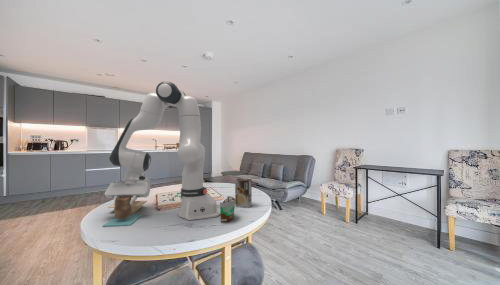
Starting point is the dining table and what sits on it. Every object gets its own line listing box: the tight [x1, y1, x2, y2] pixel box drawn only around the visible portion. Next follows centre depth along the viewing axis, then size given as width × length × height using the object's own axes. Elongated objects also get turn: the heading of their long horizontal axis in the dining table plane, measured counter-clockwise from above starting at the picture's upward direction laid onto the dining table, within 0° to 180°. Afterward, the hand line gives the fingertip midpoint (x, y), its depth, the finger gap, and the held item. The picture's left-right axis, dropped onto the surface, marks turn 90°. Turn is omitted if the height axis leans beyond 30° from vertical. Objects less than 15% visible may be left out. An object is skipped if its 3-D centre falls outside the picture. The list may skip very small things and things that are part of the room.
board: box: [102, 214, 142, 228], centre depth 93 cm, size 12×12×1 cm
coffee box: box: [234, 177, 253, 208], centre depth 117 cm, size 9×6×16 cm
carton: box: [108, 200, 148, 214], centre depth 109 cm, size 16×10×4 cm, turn 97°
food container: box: [219, 195, 236, 224], centre depth 96 cm, size 12×6×10 cm, turn 168°
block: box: [114, 197, 132, 219], centre depth 93 cm, size 5×5×9 cm
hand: (122, 205), depth 93 cm, fingers closed on block, 5 cm apart
